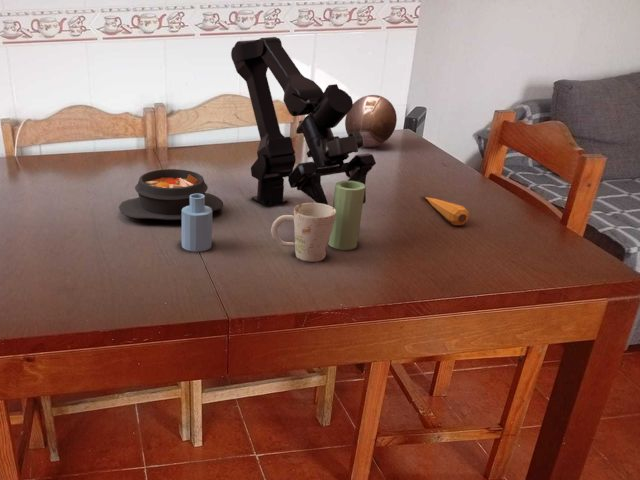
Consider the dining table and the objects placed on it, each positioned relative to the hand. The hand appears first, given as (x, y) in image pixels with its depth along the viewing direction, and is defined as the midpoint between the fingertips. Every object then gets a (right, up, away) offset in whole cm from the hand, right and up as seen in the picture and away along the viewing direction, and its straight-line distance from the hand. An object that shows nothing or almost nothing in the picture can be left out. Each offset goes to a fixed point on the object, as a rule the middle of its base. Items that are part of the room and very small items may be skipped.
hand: (345, 206), depth 145 cm
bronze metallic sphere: (+23, +32, +69) cm, 80 cm away
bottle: (-31, -8, +4) cm, 32 cm away
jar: (0, -7, +4) cm, 8 cm away
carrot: (+28, +3, +20) cm, 35 cm away
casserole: (-36, +3, +21) cm, 42 cm away
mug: (-10, -11, -1) cm, 14 cm away
